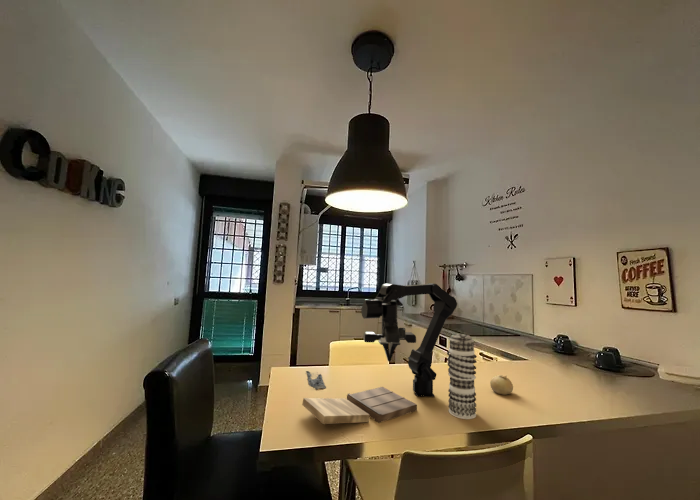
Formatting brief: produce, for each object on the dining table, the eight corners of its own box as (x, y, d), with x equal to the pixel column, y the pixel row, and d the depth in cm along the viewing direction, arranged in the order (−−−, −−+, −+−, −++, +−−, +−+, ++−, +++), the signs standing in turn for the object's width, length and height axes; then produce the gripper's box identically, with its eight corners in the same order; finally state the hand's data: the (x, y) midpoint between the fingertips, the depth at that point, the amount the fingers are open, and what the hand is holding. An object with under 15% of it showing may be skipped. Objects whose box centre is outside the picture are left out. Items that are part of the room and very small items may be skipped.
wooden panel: (382, 392, 114) (382, 385, 114) (416, 410, 99) (416, 403, 99) (346, 400, 105) (346, 393, 105) (378, 422, 90) (378, 414, 90)
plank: (345, 398, 103) (303, 398, 94) (369, 414, 91) (324, 416, 83) (344, 404, 102) (302, 404, 94) (368, 421, 90) (323, 423, 82)
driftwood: (326, 391, 115) (326, 385, 115) (308, 392, 114) (309, 386, 114) (321, 374, 135) (321, 369, 136) (306, 374, 134) (306, 369, 134)
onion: (487, 392, 116) (486, 373, 116) (494, 387, 121) (493, 369, 122) (509, 398, 110) (509, 379, 111) (515, 393, 116) (515, 374, 116)
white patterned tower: (461, 422, 92) (461, 338, 94) (441, 409, 100) (441, 333, 102) (484, 417, 95) (482, 336, 97) (462, 405, 104) (461, 331, 106)
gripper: (366, 320, 102) (366, 367, 101) (420, 321, 103) (420, 368, 102) (363, 316, 113) (362, 358, 112) (412, 317, 114) (412, 359, 113)
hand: (389, 361), depth 109 cm, fingers closed
